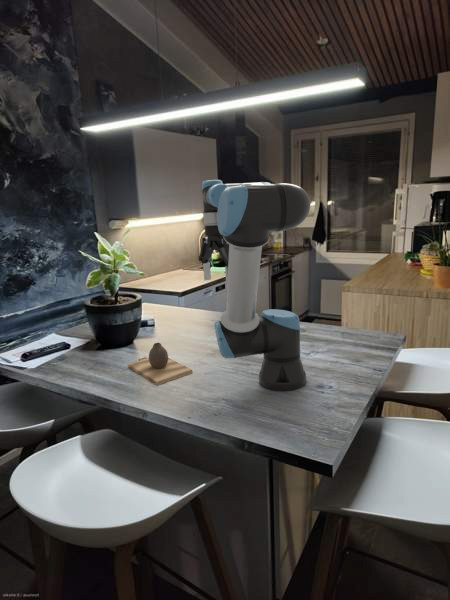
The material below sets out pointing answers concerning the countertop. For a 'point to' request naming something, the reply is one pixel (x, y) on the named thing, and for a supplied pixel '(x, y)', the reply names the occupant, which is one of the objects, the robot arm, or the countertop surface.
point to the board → (159, 370)
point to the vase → (158, 356)
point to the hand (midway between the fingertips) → (218, 281)
